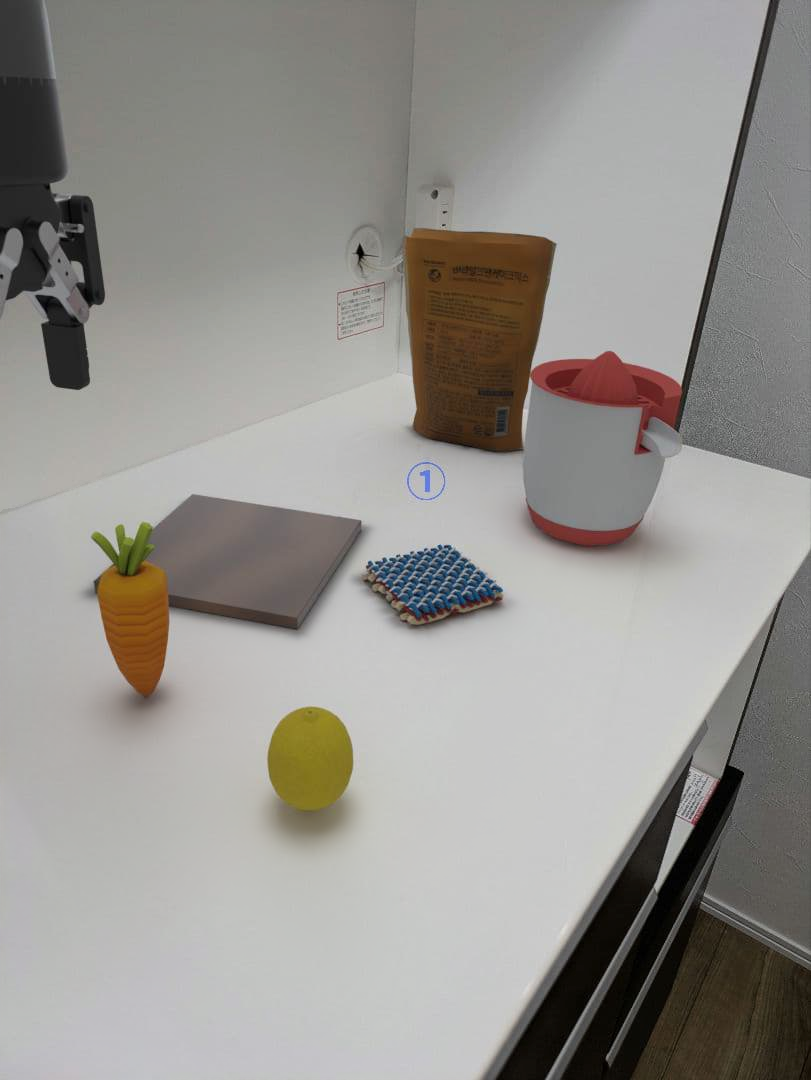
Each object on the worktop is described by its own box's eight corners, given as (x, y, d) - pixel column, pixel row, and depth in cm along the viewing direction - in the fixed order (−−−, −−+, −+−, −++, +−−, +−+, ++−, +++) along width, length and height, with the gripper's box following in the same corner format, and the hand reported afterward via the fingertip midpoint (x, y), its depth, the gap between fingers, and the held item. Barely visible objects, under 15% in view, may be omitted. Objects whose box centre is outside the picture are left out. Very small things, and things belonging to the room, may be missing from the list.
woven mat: (448, 555, 86) (449, 538, 85) (507, 605, 78) (509, 587, 77) (358, 576, 82) (359, 559, 81) (411, 632, 74) (412, 613, 73)
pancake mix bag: (523, 462, 109) (550, 240, 96) (391, 436, 116) (400, 223, 102) (536, 446, 115) (564, 233, 101) (410, 421, 121) (421, 218, 108)
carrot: (100, 709, 63) (72, 535, 56) (134, 670, 67) (111, 504, 60) (160, 721, 62) (139, 546, 55) (190, 682, 66) (174, 514, 59)
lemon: (252, 802, 55) (247, 709, 52) (317, 762, 59) (316, 672, 55) (304, 851, 52) (302, 755, 48) (369, 806, 56) (372, 714, 52)
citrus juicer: (604, 580, 83) (640, 388, 74) (484, 515, 95) (502, 342, 86) (692, 538, 92) (735, 363, 83) (573, 483, 104) (598, 324, 95)
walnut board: (94, 592, 77) (93, 581, 77) (193, 503, 94) (192, 493, 94) (297, 629, 73) (297, 618, 73) (361, 529, 91) (361, 520, 90)
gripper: (-3, 69, 44) (46, 366, 52) (-245, 54, 32) (-134, 446, 40) (124, 75, 43) (154, 380, 51) (-78, 63, 31) (3, 467, 39)
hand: (27, 408), depth 45 cm, fingers open, 7 cm apart
